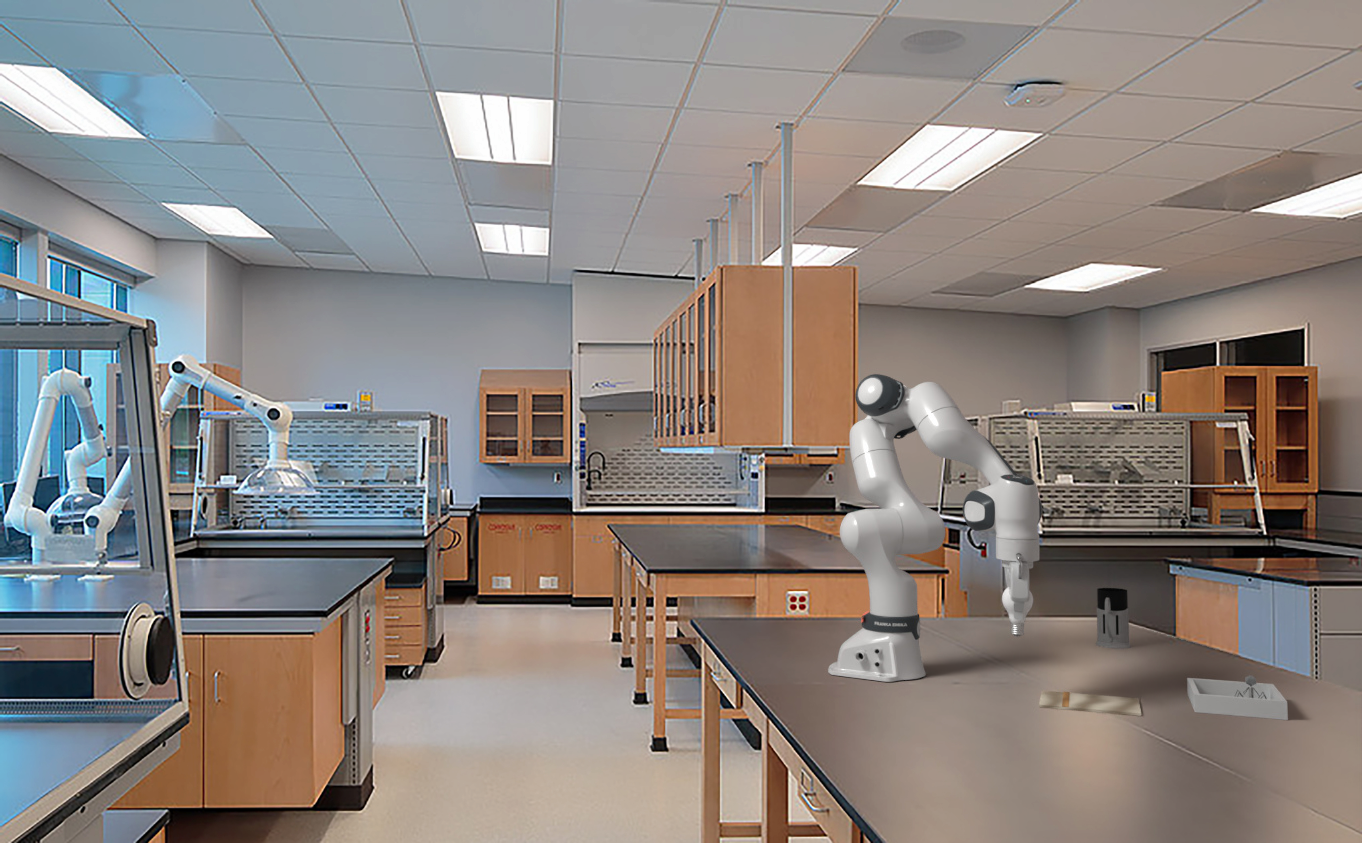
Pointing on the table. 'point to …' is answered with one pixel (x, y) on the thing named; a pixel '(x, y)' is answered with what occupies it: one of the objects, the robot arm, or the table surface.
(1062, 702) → the board
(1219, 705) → the specimen tray
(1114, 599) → the glass holder
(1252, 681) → the bacteriophage
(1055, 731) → the table surface
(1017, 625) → the lightbulb
